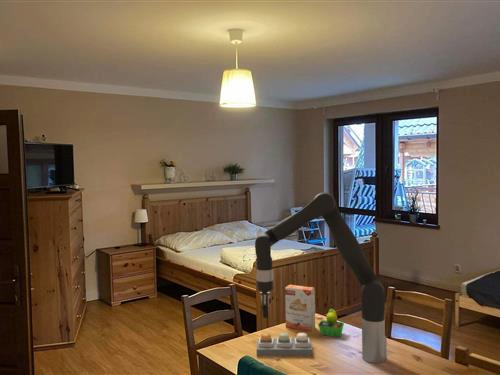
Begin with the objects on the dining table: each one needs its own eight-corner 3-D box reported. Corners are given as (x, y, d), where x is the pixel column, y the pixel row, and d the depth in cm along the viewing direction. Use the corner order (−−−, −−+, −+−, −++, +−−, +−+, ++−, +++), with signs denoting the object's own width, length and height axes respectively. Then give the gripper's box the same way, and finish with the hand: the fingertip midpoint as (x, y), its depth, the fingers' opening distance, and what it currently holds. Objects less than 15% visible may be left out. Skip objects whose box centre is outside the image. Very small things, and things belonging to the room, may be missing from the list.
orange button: (271, 337, 199) (270, 332, 199) (270, 340, 195) (270, 336, 195) (261, 337, 200) (261, 332, 199) (260, 340, 195) (260, 336, 195)
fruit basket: (317, 335, 213) (317, 312, 213) (322, 329, 222) (321, 306, 221) (341, 338, 209) (341, 315, 208) (345, 332, 217) (344, 309, 217)
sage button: (288, 337, 199) (288, 332, 199) (289, 340, 194) (289, 336, 194) (279, 337, 199) (279, 332, 199) (279, 340, 195) (279, 336, 195)
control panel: (310, 345, 202) (310, 335, 202) (312, 356, 190) (312, 346, 190) (257, 344, 204) (257, 335, 203) (256, 356, 192) (256, 345, 191)
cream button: (306, 337, 198) (306, 332, 198) (307, 341, 194) (307, 336, 194) (296, 337, 199) (296, 332, 198) (297, 341, 194) (297, 336, 194)
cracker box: (285, 327, 225) (284, 287, 224) (289, 323, 230) (289, 284, 229) (311, 331, 218) (310, 290, 217) (315, 327, 223) (315, 287, 222)
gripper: (273, 282, 189) (274, 322, 190) (273, 275, 202) (274, 312, 203) (255, 282, 189) (256, 322, 190) (257, 275, 203) (257, 312, 204)
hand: (265, 317), depth 197 cm, fingers closed
